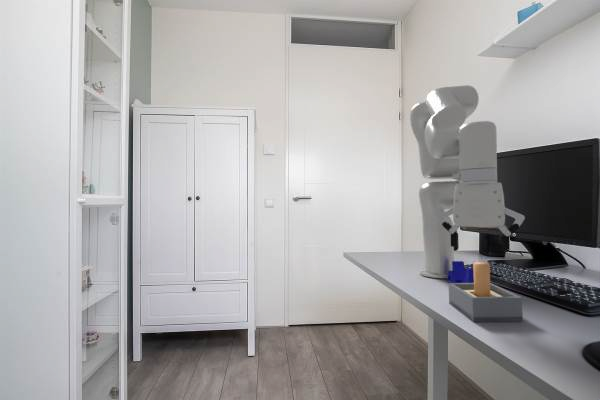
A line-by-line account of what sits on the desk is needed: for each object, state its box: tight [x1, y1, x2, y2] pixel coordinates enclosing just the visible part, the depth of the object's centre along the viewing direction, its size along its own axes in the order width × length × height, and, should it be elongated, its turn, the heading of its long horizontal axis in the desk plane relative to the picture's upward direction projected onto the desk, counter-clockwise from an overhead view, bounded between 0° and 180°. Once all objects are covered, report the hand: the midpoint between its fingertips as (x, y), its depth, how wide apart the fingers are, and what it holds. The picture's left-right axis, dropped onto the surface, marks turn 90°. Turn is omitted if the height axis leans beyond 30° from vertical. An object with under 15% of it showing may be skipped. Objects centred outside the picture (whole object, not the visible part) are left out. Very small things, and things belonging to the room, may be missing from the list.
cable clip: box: [447, 260, 474, 283], centre depth 95 cm, size 12×4×6 cm, turn 174°
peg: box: [472, 261, 491, 297], centre depth 72 cm, size 3×3×10 cm
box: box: [448, 282, 524, 323], centre depth 72 cm, size 12×10×5 cm
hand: (479, 251), depth 73 cm, fingers open, 9 cm apart
